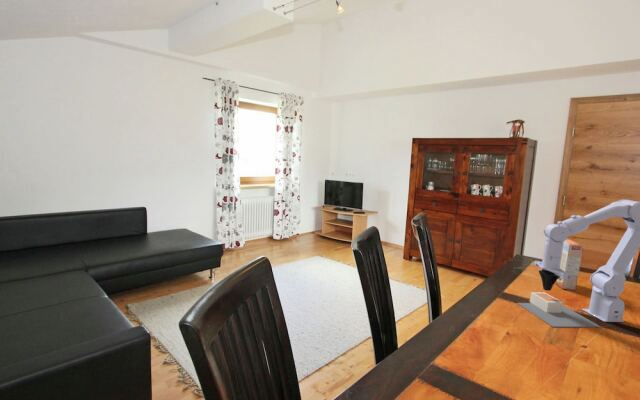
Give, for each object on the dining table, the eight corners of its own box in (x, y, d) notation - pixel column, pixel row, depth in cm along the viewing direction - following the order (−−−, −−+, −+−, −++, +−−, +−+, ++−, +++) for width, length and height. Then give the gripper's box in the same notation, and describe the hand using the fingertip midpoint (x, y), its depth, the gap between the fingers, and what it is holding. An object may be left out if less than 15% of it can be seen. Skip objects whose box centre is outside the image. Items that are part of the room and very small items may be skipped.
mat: (600, 327, 117) (600, 326, 117) (552, 327, 115) (552, 326, 115) (559, 304, 134) (559, 303, 134) (517, 303, 133) (517, 302, 133)
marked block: (543, 302, 135) (561, 312, 126) (529, 301, 134) (546, 312, 125) (545, 292, 134) (563, 302, 125) (531, 292, 134) (548, 302, 125)
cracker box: (576, 291, 150) (584, 245, 147) (561, 289, 151) (568, 244, 148) (561, 279, 163) (567, 237, 160) (547, 278, 164) (553, 236, 161)
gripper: (528, 250, 134) (524, 282, 136) (557, 261, 120) (551, 297, 122) (545, 250, 135) (540, 282, 137) (575, 262, 121) (569, 298, 123)
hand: (546, 289), depth 129 cm, fingers closed
